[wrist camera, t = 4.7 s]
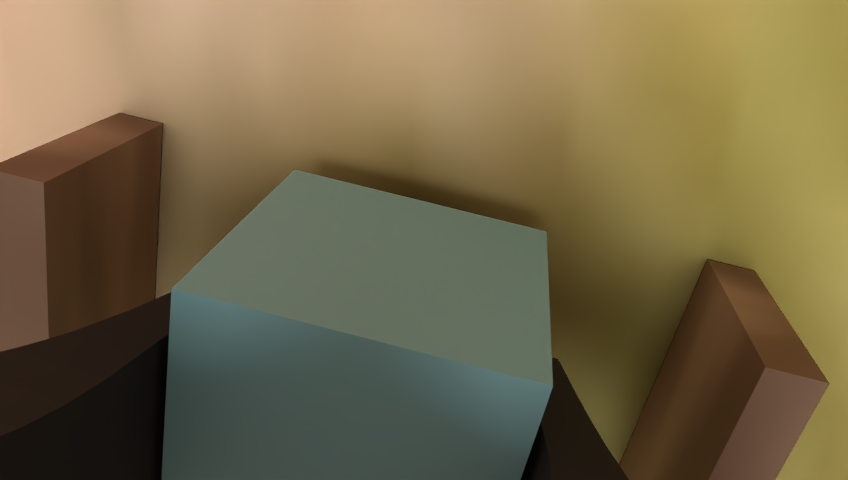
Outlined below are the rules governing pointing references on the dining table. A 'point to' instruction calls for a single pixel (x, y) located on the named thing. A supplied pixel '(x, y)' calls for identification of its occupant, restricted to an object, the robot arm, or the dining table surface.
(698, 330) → the walnut crate
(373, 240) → the teal block
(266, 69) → the dining table surface
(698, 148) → the dining table surface
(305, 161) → the dining table surface
